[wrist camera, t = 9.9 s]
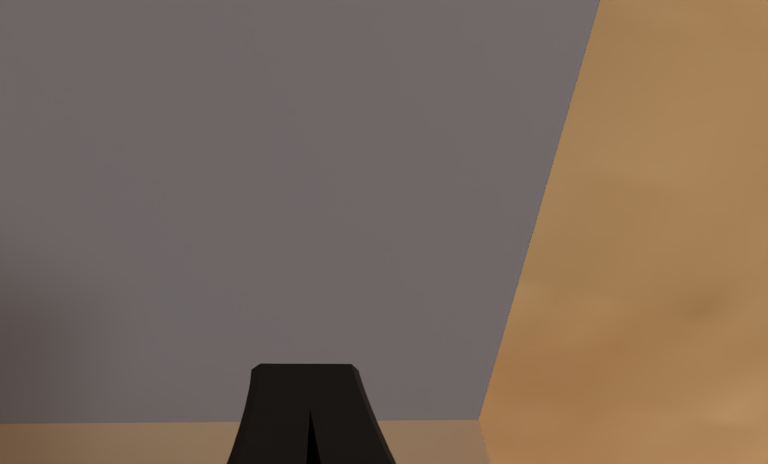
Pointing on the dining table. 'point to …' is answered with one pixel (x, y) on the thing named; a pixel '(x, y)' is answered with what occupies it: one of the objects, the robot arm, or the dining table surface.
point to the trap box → (266, 211)
